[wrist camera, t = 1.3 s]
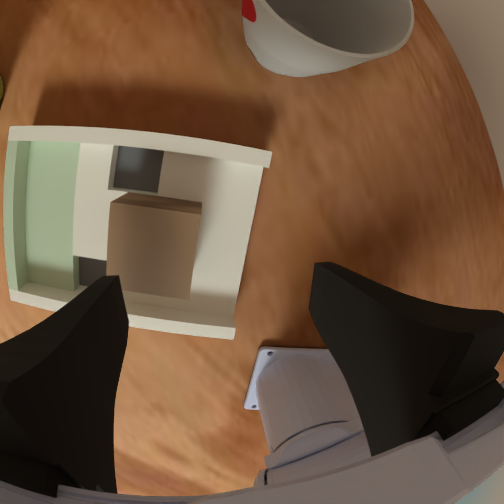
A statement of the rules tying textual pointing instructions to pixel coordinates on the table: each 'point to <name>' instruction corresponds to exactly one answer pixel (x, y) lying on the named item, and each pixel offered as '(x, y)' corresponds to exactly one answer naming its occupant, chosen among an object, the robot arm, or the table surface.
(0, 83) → the plant pot
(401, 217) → the table surface
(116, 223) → the block
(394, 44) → the cup
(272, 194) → the table surface
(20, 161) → the tray
